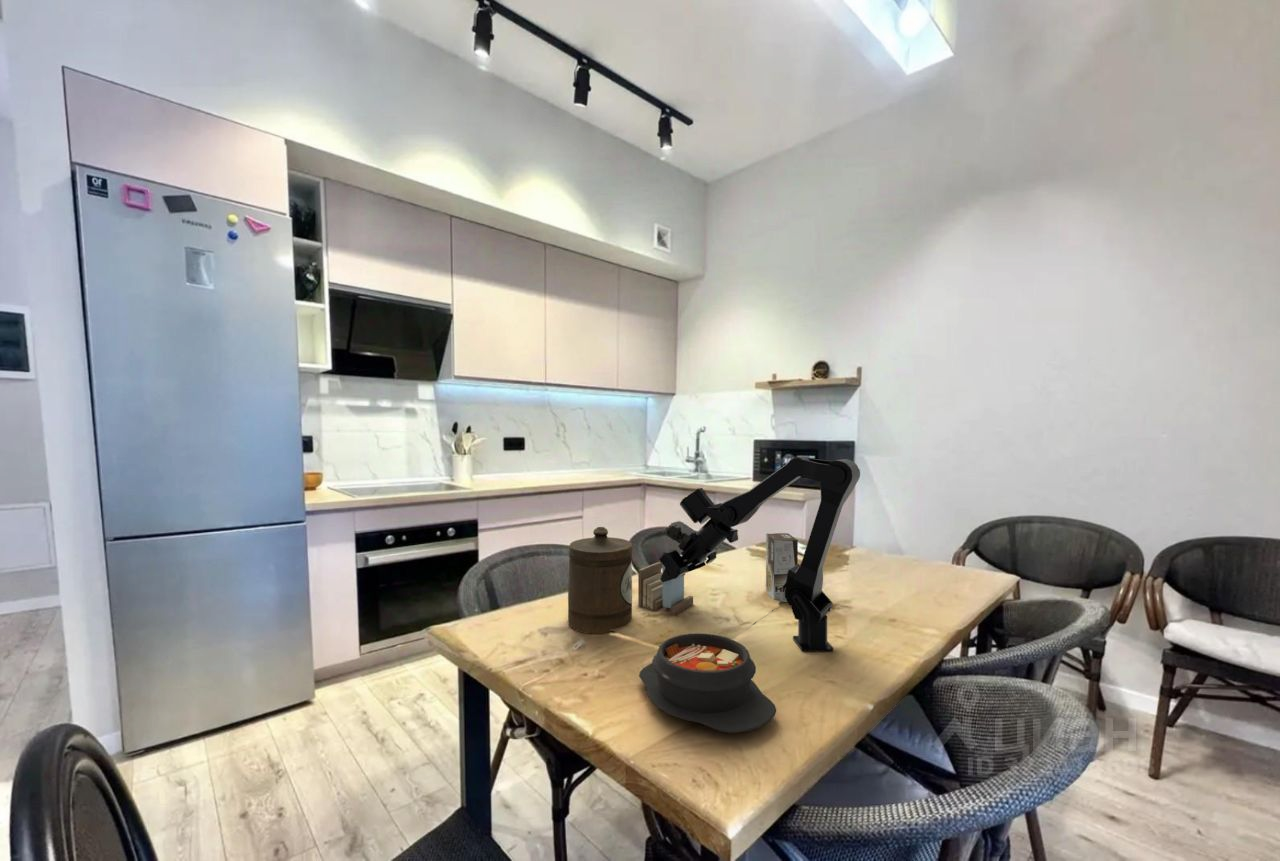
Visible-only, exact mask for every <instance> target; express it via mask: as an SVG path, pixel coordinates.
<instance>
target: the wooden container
mask: <svg viewBox="0 0 1280 861" xmlns="http://www.w3.org/2000/svg"><path fill="white" fill-rule="evenodd" d="M592 533H593V535H594V537H587V538H581V539H576V540H574V541H572V542H570V544H569V549H568V550H569V551H568V585H567V586H568V588H567V589H568V590H567V592H568V593H567V622H568V623H569V624H568V625H569V626H571V627H572V628H571V627H570V628H571V629H573V628H574V629H573V630H575V631H577V630H578V632H580V631H581V632H580V633H584V632H585V634H590V633H593V634H592V635H602V634H603V633H606V634H611V633H610V632H612V633H616V631H614V630H617V629H620V628H623V627H625V626H628V624H629V623H631V622H632V618H633V577H632V576H633V572H632V570H633V569H632V568H633V567H632V566H633V564H632V560H633V543H632V541H629V540H628V539H627V540H626V539H625V538H619V537H610V536H609V537H608V534H609V531H608V529H607V528H605V527H604V526H598V527H596V528H594V529H593V532H592ZM596 633H597V634H596ZM603 635H604V634H603Z"/></svg>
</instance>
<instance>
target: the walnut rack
mask: <svg viewBox="0 0 1280 861" xmlns="http://www.w3.org/2000/svg"><path fill="white" fill-rule="evenodd" d="M637 572H638V573H637V574H638V590H637V591H638V598H637V599H638V605H637V607H640V608H643V609H647V610H652V611H656V612H660V613H664V614H667V615H672V616H674V617H677V616H678V615H680V614H681V613H683V612H685V611H687V610H688V609H689V610H690V609H691V608H692V607H694V606H695V604H694V596H693V595H688V596H685V597H684V599H682V600H680V601H679V602H677V603H675V604H673V605H671V606H670V608H668V607H664V606H663V585H662V581H661V580H660V578H661V576H662V563H661V561H657V562H655V563H653V564H650V565H648V566H647V565H646V566H645V567H642V568H639V569H638V571H637Z"/></svg>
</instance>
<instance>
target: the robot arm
mask: <svg viewBox="0 0 1280 861" xmlns="http://www.w3.org/2000/svg"><path fill="white" fill-rule="evenodd" d="M801 477H802V478H805V479H809V480H811V481H815V482H820V503H819V505H818V510H817V512H816V515H815V519H814V522H813V525H812V529H811V530H810V534H809V538H808V541H807V544H806V548H805V550H804V553H803V557H802V559H801V563H800V564H799V563H798V564H797V565H796V566H794V567H792V568H791V569H789V570H788V574H787V581H786V583H785V585H784V586H783V588H786V589H785V594H784V595H785V598H786V600H787V602H786V603H787V604H788V605H789V606H790V607H791V611H792V613H793V616H794V619H795V620H797V625H798V632H797V633H798V635H793V636H792V640H793V641H794V642H795V643H796V645H797V646H798V648H799V649H800V650H801V651H802V652H834V649H835V648H834V647H833V646H832V644H830V642H829V641H828V615H827V614H828V613H830V612H831V610H832V607H833V605H834V604H833V603H834V602H833V601H832V600H831V599H830V598H829V597H828V595H826V594H825V592H824V591H823V584H824V574H823V572H824V571H823V568H824V565H825V561H826V559H827V554H828V552H829V549H830V546H831V543H832V540H833V536H834V534H835V530H836V526H837V524H838V521H839V518H840V515H841V512H842V509H843V506H844V505H845V503H846V502H847V500H848V498H849V497H850V496H851V494H852V492H853V491H854V489H855V487H856V485H857V483H858V482H859V480H860V477H861V470H860V468H859V467H858V464H856V463H855V462H854V461H852V460H850V459H846V458H844V459H842V458H841V459H836V460H826V459H825V460H824V459H816V458H810V457H807V456H804V455H803V456H796V457H795V456H794V457H793V458H790V459H789V460H788V462H787V463H786V464H784V465H783V466H781V467H780V468H778V469H777V470H776V471H774V472H773V473H772V474H770V475H769V476H767V477H766V478H764V479H763V480H762V481H761V482H759V483H758V484H756V485H755V486H754V487H752V488H751V489H750V490H748V491H746V492H743V493H741V494H739V495H737V496H734V497H732V498H730V499H728V500H725V501H723V502H721V503H716V504H715V503H714V501H713V500H712V499H711V498H710V497H709V496H708V495H707V493H706V491H705V490H704V489H703V487H698V488H697V489H695V490H694V491H692V492H691V493H690V494H688V495H687V496H685V497H683V498H682V500H681V501H680V502H679V506H680V507H681V508H682V510H684V512H685V513H686V514H687V516H688V517H689V519H690V520H691V521H692V523H693V524H697V523H699V524H700V525H702V524H703V526H702V527H701V528H700V529H699V530H698V531H695V530H694V529H693V528H692V527H690V526H689V525H687V524H686V523H684V522H683V521H679V520H677V521H675V522H671V523H670V524H669V525H668V527H667V528H666V529H665V531H666V536H667V537H668V538H669V539H671V540H672V541H675V542H677V544H678V545H677V547H678V548H679V550H681V552H680V553H679V552H678V551H677V549H672V548H671V549H669V550H665V551H664V552H662V554H660V555H659V557H658V560H659V562H661V565H662V564H663V565H664V567H665V570H664V572H663V574H662V576H661V578H660V580H661V581H662V582H666V581H669V580H672V579H677V578H679V577H681V576H684V577H685V575H686V573H689V572H692V571H694V570H697V569H700V568H703V567H705V566H706V565H709V564H711V563H712V562H714V561H715V560H716V559H717V550H718V547H719V546H720V545H721V544H722V543H723V542H724V541H726V540H727V541H728V542H729V543H730V544H732V543H734V542H736V541H739V535H738V532H739V530H738V529H737V528H733V527H735V526H736V527H737V526H739V525H742V524H744V523H747V522H749V520H751V519H752V518H753V516H754V515H755V514H756V513H757V512H758V510H759V509H760V508H761V507H762V505H763V504H764V503H766V502H767V501H769V500H770V499H772V498H773V497H775V496H776V495H777V494H779V493H780V492H781V491H783V490H785V488H787V487H788V486H790V485H792V484H793V483H794V482H796V481H797V480H799V479H800V478H801ZM705 522H706V523H705ZM704 523H705V524H704ZM680 555H682V556H680Z"/></svg>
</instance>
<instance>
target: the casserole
mask: <svg viewBox="0 0 1280 861" xmlns="http://www.w3.org/2000/svg"><path fill="white" fill-rule="evenodd" d="M651 661H652V662H651V663H649V664H648V665H646V666H645V667H643V668H642V669H641V670H640V672H639V675H638V677H639V678H640V680H641V681H642V683H643V684H644V686H645V688H646V692H647V695H648V698H649V699H650V701H651V702H652V703H653V704H654V705H655V706H656V707H657V708H658V709H660V711H661V710H662V711H663V712H664V713H666V714H668V715H670V716H672V717H675V718H677V719H680V720H684V721H689V722H693V723H697V724H701V725H704V726H706V727H709V728H711V729H714V730H715V731H718V732H722V733H727V734H737V733H739V734H740V733H746V732H749V731H753V730H756V729H759V728H762V727H763V726H765V725H767V724H768V723H769V722H771V720H773V718H774V717H775V716H776V714H777V707H776V704H775V703H773V701H772V700H771V699H769V697H768V696H766V695H764V693H763V692H762V691H761V690H760V687H758V685H757V684H756V682H755V681H754V680H752V679H753V678H754V677H755V674H756V671H757V667H756V664H755V662H754V660H753V659H752V658H751V656H750V653H749V651H748V649H747V648H746V647H745V646H744V645H742V644H741V643H740V642H738V641H736V640H734V639H732V638H730V637H726V636H723V635H718V634H713V633H700V632H698V633H697V632H696V633H686V634H679V635H675V636H672V637H669V638H668V639H666V640H665V641H663V642H662V643H661V644H660V645H659V647H658V649H657V651H656V654H655V655H654V656H653V659H652V660H651Z"/></svg>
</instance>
